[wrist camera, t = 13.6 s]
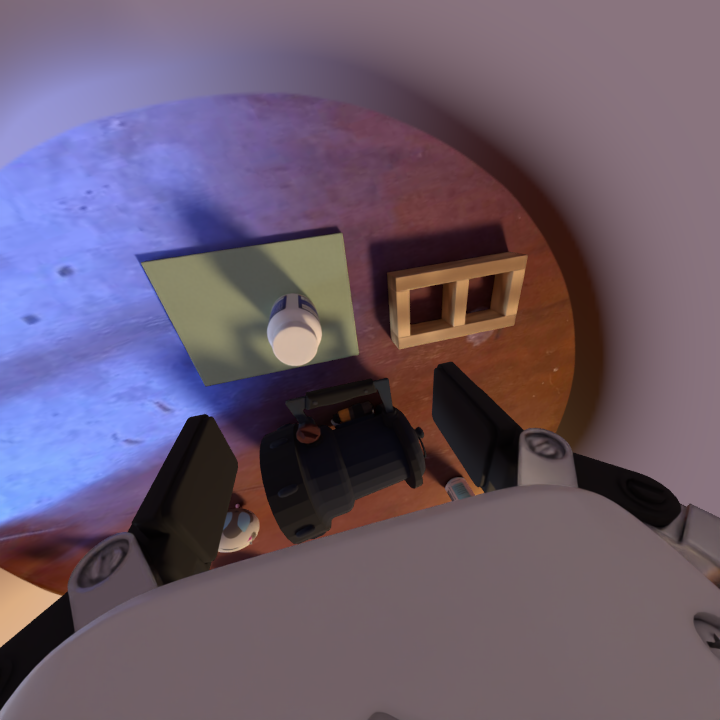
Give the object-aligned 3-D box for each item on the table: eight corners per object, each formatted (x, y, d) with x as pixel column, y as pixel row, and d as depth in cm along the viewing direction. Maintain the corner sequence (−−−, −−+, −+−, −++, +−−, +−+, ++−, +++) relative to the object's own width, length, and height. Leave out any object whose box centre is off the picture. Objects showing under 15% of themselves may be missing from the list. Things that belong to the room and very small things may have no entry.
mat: (143, 261, 25) (140, 262, 25) (341, 232, 28) (342, 232, 27) (206, 384, 33) (205, 386, 32) (358, 352, 35) (359, 354, 35)
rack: (386, 272, 31) (395, 277, 28) (509, 251, 33) (528, 254, 30) (391, 339, 36) (398, 349, 33) (498, 317, 38) (514, 325, 35)
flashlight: (295, 474, 44) (239, 384, 33) (406, 428, 47) (386, 331, 36) (303, 573, 32) (218, 481, 21) (453, 503, 34) (445, 389, 24)
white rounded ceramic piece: (263, 496, 45) (258, 536, 39) (260, 516, 48) (255, 557, 42) (212, 497, 43) (199, 540, 37) (211, 519, 45) (199, 562, 39)
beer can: (453, 492, 58) (486, 551, 47) (439, 486, 55) (472, 548, 45) (468, 478, 56) (506, 537, 46) (455, 472, 54) (492, 532, 44)
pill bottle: (276, 337, 31) (270, 376, 24) (266, 295, 29) (256, 323, 21) (320, 332, 32) (327, 367, 25) (314, 290, 30) (320, 315, 22)
